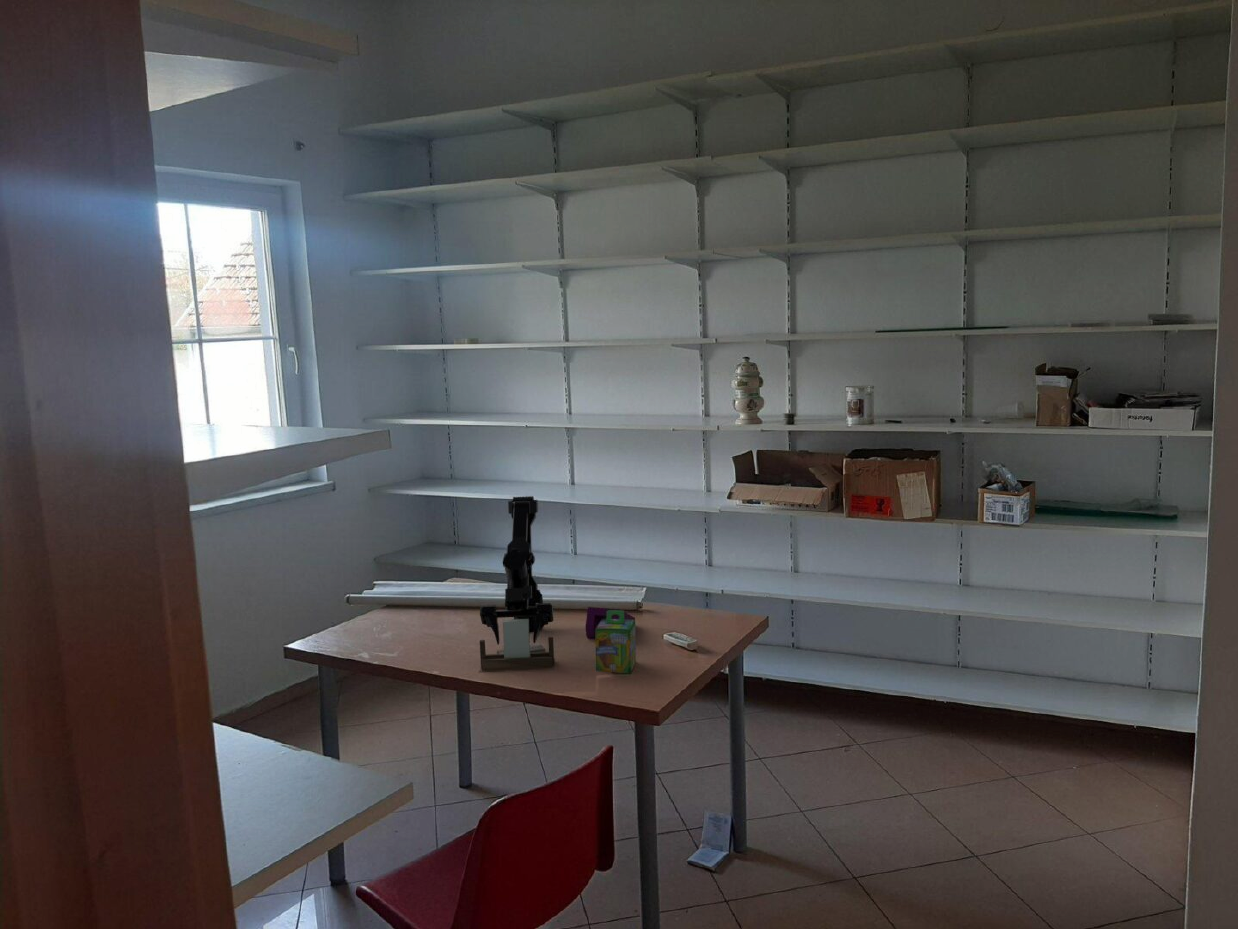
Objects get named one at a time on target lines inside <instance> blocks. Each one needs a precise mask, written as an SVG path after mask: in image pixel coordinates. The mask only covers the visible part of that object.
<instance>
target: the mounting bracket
mask: <svg viewBox="0 0 1238 929" xmlns="http://www.w3.org/2000/svg"><path fill="white" fill-rule="evenodd" d="M608 610H621V609H620V608H609V607H608V608H607V607H593V606H591V607H590V606H588V607H587V611H586V612H587V613H586V619H585V635H586V638H587V639H591V640H595V629H596V627H597V626H598V624H599V623H600V621H601V620H602V619H606V613H607V611H608ZM611 618H612V619H619V618H620V617H619V615H617V614H614V615H612V616H611ZM625 619H627V620H634V621H635V622H636V617H634V616H632V615H631V614H629V613H627V612H625Z"/></svg>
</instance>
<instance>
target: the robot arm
mask: <svg viewBox="0 0 1238 929" xmlns="http://www.w3.org/2000/svg"><path fill="white" fill-rule="evenodd" d="M507 505H508V507H507V509H508V510H507V512H508V514H509V515H511V519H512V532H511V533H512V534H511V541H510V542H509V543H508V544H507V545H506V553H504V555H503V558H502V565H503V566H502V567H503V568H504V572H505V575H506V578H507V581H506V582H507V584H506V588H505V590H504V591H505V592H504V593H505V594H504V596H505V597H504V607H505V608H506V609H497V606H496V604H494V605H493V604H492V605H490V604H489V605H482V606H481V607H480V608H479V617H480V621H481V623H482V624H481V625H484V626H485V625H486V627H487V628H491V631H492V632H493V634H494V637H495V641H496V644H497V645H500V630H499V621H498V619H502V618H504V619H505V618H513V619H529V633H531V632H533V637H532V642H533V644H536V642H537V639H538V637H539V636H540V633H541V631H542V630H543V629H544V627H545V626H548V625H549V623H553V622H554V608H553V604H552V603H551V602H547V603H546V602H544V599H543V594H542V593H541V589H539V588H538V587H539V585H538V582H536V580H535V578H534V576H533V566H534V564H535V561H536V556H535V555H534V553H533V552H532V525H533V524H534V522H535V520H536V519H537V513H538V512H539V503H538V499H535V498H534V496H532V495H530V496H527V495H526V496H513V497H512V499H511V500H509V501H507Z"/></svg>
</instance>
